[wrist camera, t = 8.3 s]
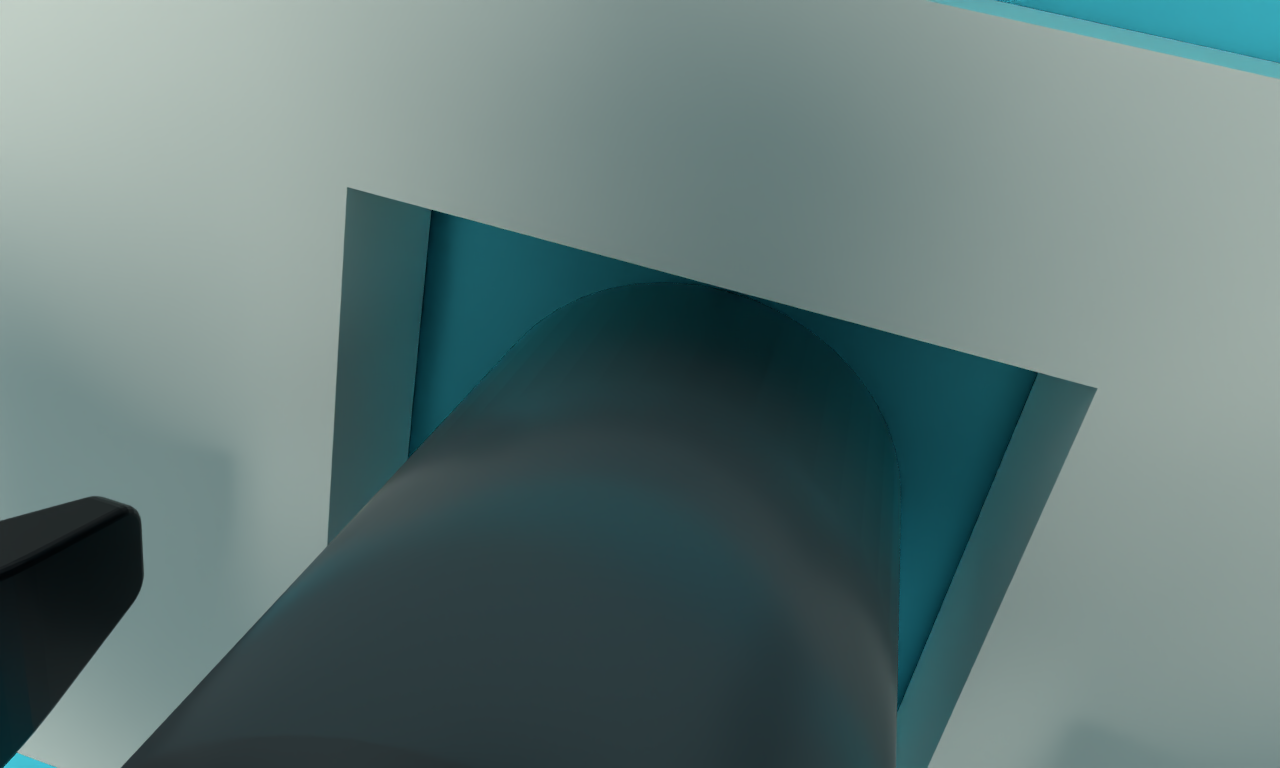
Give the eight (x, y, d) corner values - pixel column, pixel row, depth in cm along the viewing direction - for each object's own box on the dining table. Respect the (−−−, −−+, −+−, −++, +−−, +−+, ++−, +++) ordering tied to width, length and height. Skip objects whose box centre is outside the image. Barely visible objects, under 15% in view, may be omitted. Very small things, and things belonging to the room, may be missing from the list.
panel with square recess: (2023, 226, 8) (2333, 315, 6) (1299, 1071, 14) (1356, 1246, 12) (-115, -245, 11) (-317, -277, 9) (0, 619, 16) (-111, 705, 14)
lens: (964, 353, 11) (1036, 962, 4) (831, 711, 13) (756, 1431, 7) (502, 230, 11) (9, 607, 5) (455, 592, 14) (79, 1145, 8)
